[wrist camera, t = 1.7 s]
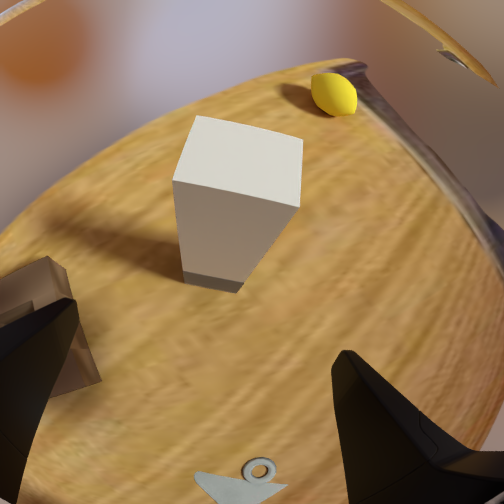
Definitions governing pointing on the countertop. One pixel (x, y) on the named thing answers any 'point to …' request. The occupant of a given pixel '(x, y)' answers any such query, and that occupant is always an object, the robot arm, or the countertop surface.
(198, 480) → the grey triangular pendant
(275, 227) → the rail post
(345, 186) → the countertop surface
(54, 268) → the post base
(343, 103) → the lemon
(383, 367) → the countertop surface
